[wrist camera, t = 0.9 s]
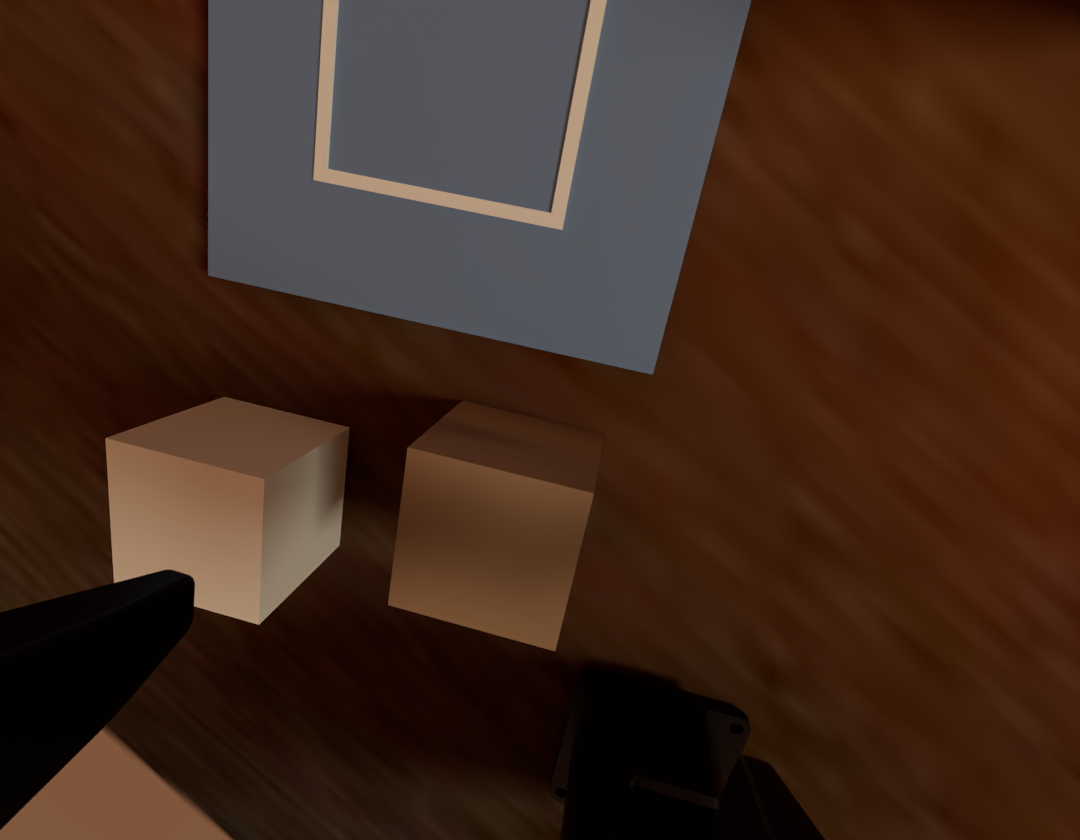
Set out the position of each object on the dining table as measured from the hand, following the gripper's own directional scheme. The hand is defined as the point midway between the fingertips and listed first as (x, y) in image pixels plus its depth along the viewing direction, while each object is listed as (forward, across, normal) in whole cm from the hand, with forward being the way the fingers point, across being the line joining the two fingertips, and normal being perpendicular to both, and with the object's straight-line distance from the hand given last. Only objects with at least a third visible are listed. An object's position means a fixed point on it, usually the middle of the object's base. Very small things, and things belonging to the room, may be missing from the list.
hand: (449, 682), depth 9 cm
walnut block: (+11, +1, +1) cm, 11 cm away
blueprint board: (+11, +5, -11) cm, 16 cm away
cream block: (+11, +10, +4) cm, 15 cm away
